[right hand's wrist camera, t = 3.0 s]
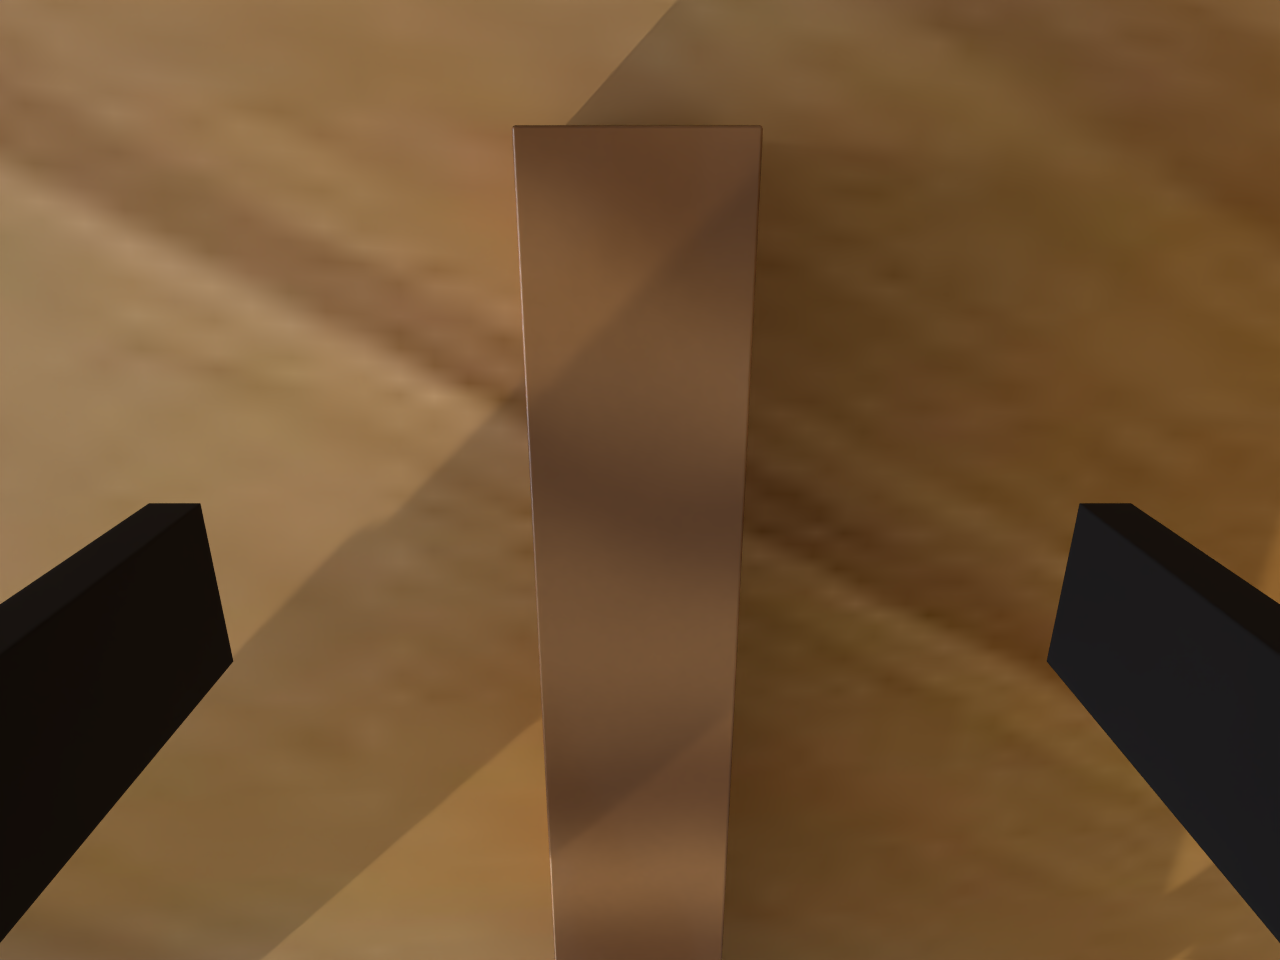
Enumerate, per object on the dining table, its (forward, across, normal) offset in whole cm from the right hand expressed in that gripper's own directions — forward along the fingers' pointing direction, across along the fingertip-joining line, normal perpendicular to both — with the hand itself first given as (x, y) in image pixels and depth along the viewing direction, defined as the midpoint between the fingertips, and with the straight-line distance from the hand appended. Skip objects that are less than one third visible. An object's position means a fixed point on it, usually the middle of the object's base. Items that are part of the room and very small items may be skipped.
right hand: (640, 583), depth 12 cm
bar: (+14, 0, -26) cm, 30 cm away
